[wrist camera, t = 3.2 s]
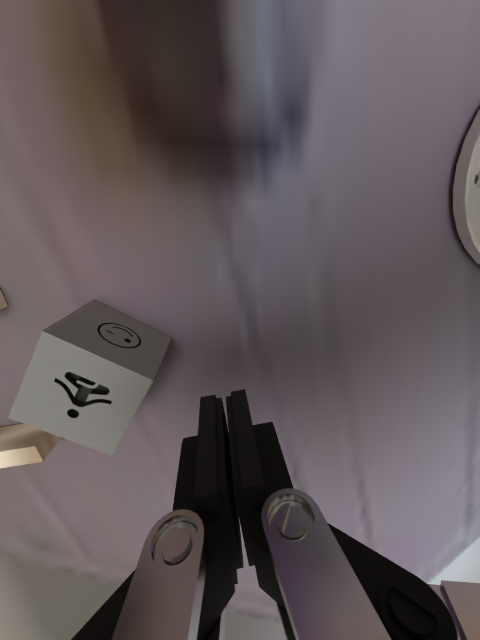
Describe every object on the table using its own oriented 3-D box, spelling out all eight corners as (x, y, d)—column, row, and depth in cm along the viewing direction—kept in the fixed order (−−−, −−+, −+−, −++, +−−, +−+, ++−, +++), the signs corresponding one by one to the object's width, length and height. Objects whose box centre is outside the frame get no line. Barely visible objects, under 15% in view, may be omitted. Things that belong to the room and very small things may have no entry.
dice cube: (172, 337, 17) (153, 380, 12) (139, 396, 18) (111, 455, 14) (94, 298, 16) (42, 330, 11) (65, 364, 17) (7, 417, 13)
